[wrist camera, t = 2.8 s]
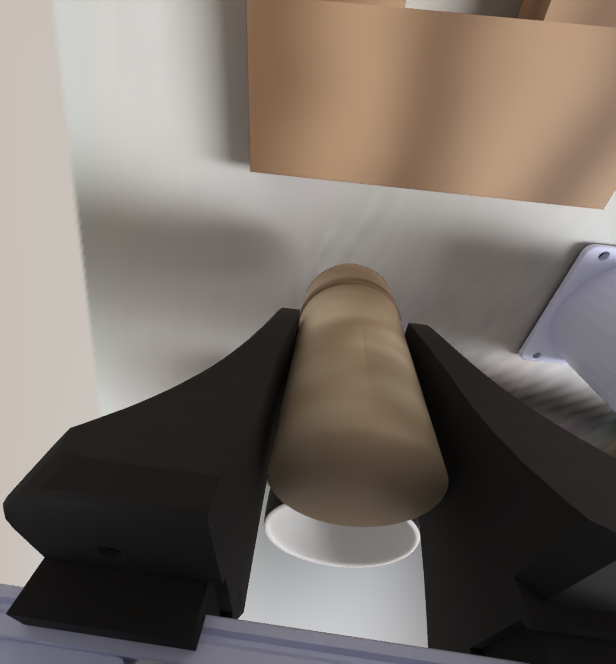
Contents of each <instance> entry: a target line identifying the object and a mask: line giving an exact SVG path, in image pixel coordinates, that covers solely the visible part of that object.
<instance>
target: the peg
mask: <svg viewBox="0 0 616 664" xmlns="http://www.w3.org/2000/svg"><path fill="white" fill-rule="evenodd" d="M267 476H268V482H269V485H270V487H271V489H272V491H273V492H274V494H275V495H276V496H277V497H278V498H279V499H280V500H281V501H282V502H283V503H284V504H286V505H287V506H288V507H290V508H291V509H293V510H295V511H296V512H298V513H301V514H303V515H305V516H307V517H310V518H312V519H315V520H319V521H322V522H326V523H330V524H336V525H341V526H350V527H378V526H387V525H393V524H398V523H402V522H405V521H409V520H412V519H414V518H417V517H419V516H421V515H423V514H425V513H427V512H428V511H430V510H431V509H433V508H434V507H435V506H436V505H437V504H439V502H440V501H441V500H442V499H443V497H444V496H445V494H446V492H447V488H448V475H447V471H446V467H445V464H444V461H443V458H442V455H441V451H440V448H439V445H438V442H437V438H436V435H435V432H434V429H433V425H432V422H431V419H430V416H429V413H428V409H427V406H426V403H425V400H424V396H423V393H422V390H421V387H420V384H419V380H418V377H417V374H416V371H415V367H414V364H413V361H412V358H411V355H410V351H409V348H408V345H407V342H406V338H405V335H404V332H403V329H402V326H401V318H400V314H399V311H398V308H397V305H396V303H395V301H394V299H393V296H392V293H391V290H390V288H389V286H388V284H387V283H386V281H385V280H384V279H383V278H382V277H381V276H380V275H379V274H378V273H376V272H375V271H373V270H371V269H369V268H366V267H363V266H360V265H357V264H341V265H337V266H334V267H332V268H330V269H328V270H326V271H324V272H323V273H321V274H320V275H318V276H317V277H316V278H315V279H314V280H313V281H312V283H311V284H310V286H309V288H308V290H307V292H306V295H305V299H304V304H303V306H302V308H301V312H300V316H299V328H298V333H297V337H296V342H295V346H294V350H293V355H292V359H291V364H290V369H289V373H288V378H287V383H286V387H285V392H284V397H283V401H282V406H281V410H280V415H279V420H278V424H277V429H276V434H275V438H274V443H273V447H272V452H271V457H270V461H269V466H268V472H267Z"/></svg>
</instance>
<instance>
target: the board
mask: <svg viewBox="0 0 616 664" xmlns="http://www.w3.org/2000/svg"><path fill="white" fill-rule="evenodd" d="M405 3H406V0H246V5H247V49H248V93H249V137H250V172H259V173H268V174H277V175H287V176H296V177H305V178H314V179H324V180H333V181H342V182H352V183H361V184H370V185H380V186H389V187H398V188H408V189H417V190H426V191H436V192H445V193H454V194H463V195H473V196H482V197H491V198H501V199H510V200H519V201H529V202H538V203H547V204H557V205H566V206H575V207H584V208H594V209H604V208H605V206H606V204H607V203H608V201H609V199H610V198H611V196H612V195H613V193H614V191H615V190H616V0H523V1H522V4H521V7H520V10H519V13H518V15H517V18H506V17H495V16H484V15H474V14H463V13H452V12H441V11H430V10H420V9H409V8H405Z"/></svg>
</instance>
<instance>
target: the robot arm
mask: <svg viewBox="0 0 616 664" xmlns="http://www.w3.org/2000/svg"><path fill="white" fill-rule="evenodd" d="M603 252H604V254H603V255H602V256H601V257H599V255H600V254H601V253H603ZM598 257H599V258H598ZM299 316H300V310H296V309H288V308H281V309H280V310H279V311H278V312H277V313H276V314H275V315H274V316H273V317H272V318H271V319H270V320H269V321H268V322H267V323H266V324H265V325H264V326H263V327H262V328H261V329H260V330H258V331H257V332H256V333H255V334H254V335H253V336H252V337H251V338H250V339H248V340H247V341H246V342H245V343H243V344H242V345H241V346H240V347H238V348H237V349H236V350H235V351H233V352H232V353H231V354H229V355H228V356H227V357H225V358H224V359H222V360H221V361H219V362H218V363H216V364H215V365H213V366H212V367H210V368H209V369H207V370H205V371H204V372H202V373H200V374H198V375H196V376H194V377H192V378H190V379H189V380H187V381H185V382H183V383H181V384H179V385H177V386H175V387H173V388H171V389H169V390H167V391H165V392H163V393H161V394H158V395H156V396H154V397H152V398H149V399H147V400H145V401H142V402H140V403H138V404H135V405H133V406H130V407H128V408H125V409H122V410H120V411H117V412H114V413H111V414H109V415H106V416H103V417H100V418H98V419H95V420H92V421H89V422H87V423H84V424H81V425H78V426H75V427H72V428H70V429H69V430H68V431H67V432H66V433H65V434H64V435H63V436H62V437H61V438H60V439H59V440H58V441H57V442H56V443H55V445H54V446H53V447H52V448H51V449H50V450H49V451H48V452H47V453H46V454H45V455H44V456H43V458H42V459H41V460H40V461H39V462H38V463H37V464H36V465H35V466H34V467H33V469H32V470H31V471H30V472H29V473H28V474H27V475H26V476H25V477H24V478H23V480H22V481H21V482H20V483H19V484H18V485H17V486H16V487H15V488H14V489H13V491H12V492H11V493H10V494H9V495H8V496H7V498H6V499H5V501H4V503H3V509H4V514H5V518H6V520H7V521H8V522H9V523H10V524H11V526H12V527H13V528H14V529H15V530H16V531H17V532H18V533H19V534H20V535H21V536H22V537H23V538H24V539H26V540H27V541H28V542H29V543H30V544H31V545H32V546H33V547H34V548H35V549H36V550H38V551H39V553H41V554H42V555H43V556H44V557H45V558H44V559H43V561H42V562H41V564H40V565H39V566H38V568H37V569H36V571H35V572H34V574H33V575H32V576H31V578H30V579H29V581H28V582H27V584H26V585H25V587H19V586H12V585H6V584H0V664H616V458H614V457H612V456H610V455H609V454H607V453H605V452H603V451H601V450H600V449H598V448H596V447H594V446H592V445H590V444H589V443H587V442H585V441H583V440H582V439H580V438H578V437H577V436H575V435H573V434H571V433H570V432H568V431H566V430H565V429H563V428H561V427H560V426H558V425H556V424H555V423H553V422H551V421H550V420H548V419H547V418H545V417H543V416H542V415H540V414H539V413H537V412H536V411H534V410H533V409H531V408H530V407H528V406H527V405H525V404H524V403H522V402H521V401H520V400H518V399H517V398H515V397H514V396H512V395H511V394H510V393H508V392H507V391H505V390H504V389H503V388H501V387H500V386H499V385H498V384H496V383H495V382H494V381H492V380H491V379H490V378H489V377H487V376H486V375H485V374H483V373H482V372H481V371H480V370H479V369H477V368H476V367H475V366H474V365H473V364H471V363H470V362H469V361H468V360H467V359H466V358H465V357H463V356H462V355H461V354H460V353H459V352H458V351H457V350H455V349H454V348H453V347H452V346H451V345H450V344H449V343H448V342H447V341H445V340H444V339H443V338H442V337H441V336H440V335H439V334H437V333H436V332H435V331H434V330H433V329H431V328H430V327H429V326H427V325H421V324H412V323H408V326H407V329H406V332H405V338H406V342H407V345H408V348H409V351H410V355H411V358H412V361H413V364H414V367H415V371H416V374H417V377H418V380H419V384H420V387H421V390H422V393H423V396H424V400H425V403H426V406H427V409H428V413H429V416H430V419H431V422H432V425H433V429H434V432H435V435H436V438H437V442H438V445H439V448H440V451H441V455H442V458H443V461H444V464H445V467H446V471H447V475H448V488H447V492H446V494H445V496H444V497H443V499H442V500H441V501H440V502H439V504H437V505H436V506H435V507H434V508H433V509H431V510H430V511H428V512H427V513H425V514H423V515H421V516H419V526H420V535H421V546H422V558H423V569H424V583H425V599H426V614H427V633H428V648H424V647H417V646H410V645H404V644H398V643H390V642H384V641H377V640H371V639H364V638H357V637H351V636H344V635H338V634H331V633H325V632H318V631H311V630H305V629H298V628H291V627H284V626H277V625H271V624H265V623H258V622H251V621H244V620H238V618H239V617H240V616H241V615H242V614H243V612H244V607H245V601H246V595H247V589H248V583H249V578H250V572H251V566H252V560H253V554H254V549H255V543H256V537H257V532H258V526H259V521H260V515H261V510H262V504H263V499H264V493H265V488H266V483H267V477H268V476H267V472H268V466H269V461H270V457H271V452H272V447H273V443H274V438H275V434H276V429H277V424H278V420H279V415H280V410H281V406H282V401H283V397H284V392H285V387H286V383H287V378H288V373H289V369H290V364H291V359H292V355H293V350H294V346H295V342H296V337H297V333H298V328H299ZM535 353H537V354H535ZM534 354H535V355H534ZM519 355H520V356H521V358H522V359H525V360H532V361H540V362H548V363H556V364H565V365H570V366H571V367H572V368H573V369H574V370H575V371H576V372H577V373H578V374H579V375H580V376H581V377H582V378H583V379H584V380H585V381H586V383H587V384H588V385H589V386H590V387H591V388H592V389H593V390H594V391H595V392H596V393H597V394H598V395H599V396H600V397H601V398H602V399H603V400H604V401H605V402H606V403H607V404H608V405H609V406H610V407H611V408H612V409H613V410H614V411H615V412H616V246H609V245H600V244H591V245H589V246H587V247H585V248H584V249H583V250H582V251H581V253H580V254H579V256H578V258H577V259H576V261H575V262H574V264H573V266H572V267H571V269H570V270H569V272H568V274H567V275H566V277H565V278H564V280H563V282H562V283H561V285H560V286H559V288H558V290H557V291H556V293H555V295H554V296H553V298H552V299H551V301H550V303H549V304H548V306H547V307H546V309H545V311H544V312H543V314H542V315H541V317H540V319H539V320H538V322H537V323H536V325H535V327H534V328H533V330H532V331H531V333H530V335H529V336H528V338H527V339H526V341H525V343H524V344H523V346H522V347H521V349H520V351H519Z"/></svg>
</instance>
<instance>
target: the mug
mask: <svg viewBox="0 0 616 664" xmlns="http://www.w3.org/2000/svg"><path fill="white" fill-rule="evenodd" d="M264 529H265V532H266V534H267V536H268V538H269V539H270V540H271V541H272V543H273V544H275V545H276V546H277V547H278V548H280V549H281V550H283V551H285V552H286V553H288V554H290V555H293V556H295V557H297V558H300V559H303V560H306V561H309V562H313V563H318V564H323V565H328V566H336V567H372V566H379V565H384V564H388V563H392V562H394V561H397V560H400V559H402V558H404V557H406V556H407V555H409V554H410V553H412V552H413V551H414V550H415V548H416V547H417V545H418V543H419V541H420V529H419V517H417V518H414V519H412V520H409V521H405V522H402V523H398V524H393V525H387V526H378V527H350V526H341V525H336V524H330V523H326V522H322V521H319V520H315V519H312V518H310V517H307V516H305V515H303V514H301V513H298V512H296V511H295V510H293V509H291V508H290V507H288V506H287V505H286V504H284V503H283V502H282V501H281V500H280V499H279V498H278V497H277V496H276V495H275V494H274V492H273V491H272V489H271V488H270V492H269V496H268V501H267V506H266V512H265V519H264Z"/></svg>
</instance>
